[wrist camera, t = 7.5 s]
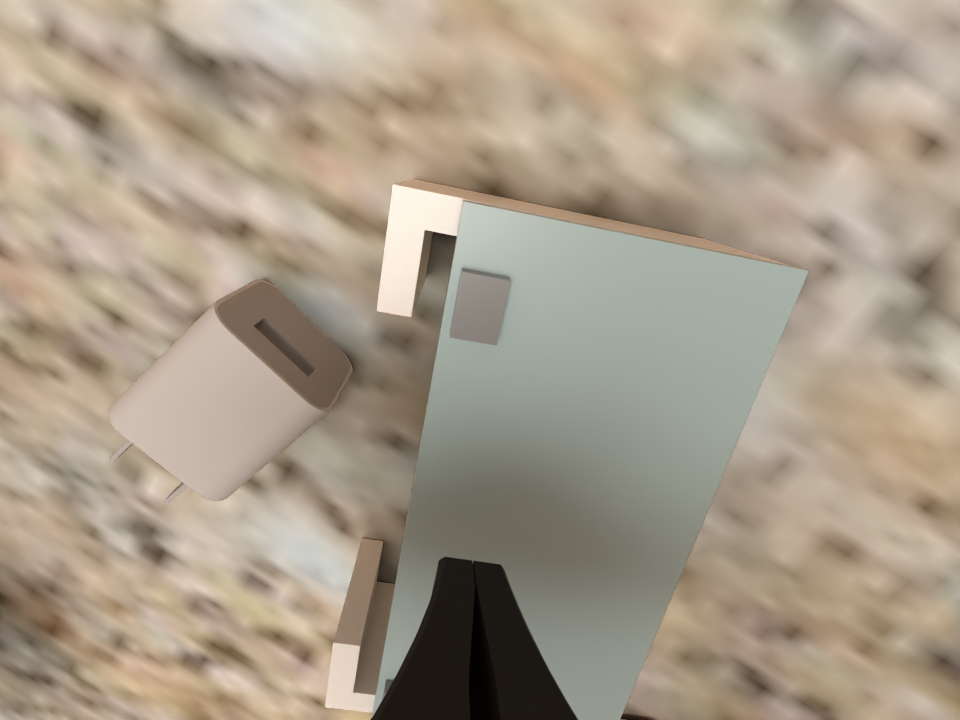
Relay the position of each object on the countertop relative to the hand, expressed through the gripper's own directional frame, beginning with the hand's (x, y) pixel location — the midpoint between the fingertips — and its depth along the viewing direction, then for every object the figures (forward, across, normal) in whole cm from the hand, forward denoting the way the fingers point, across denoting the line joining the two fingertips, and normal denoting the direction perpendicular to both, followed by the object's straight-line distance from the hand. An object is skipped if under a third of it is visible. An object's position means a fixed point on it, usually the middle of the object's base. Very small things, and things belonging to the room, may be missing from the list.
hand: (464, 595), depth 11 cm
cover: (+2, -2, 0) cm, 3 cm away
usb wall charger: (+8, +8, 0) cm, 11 cm away
